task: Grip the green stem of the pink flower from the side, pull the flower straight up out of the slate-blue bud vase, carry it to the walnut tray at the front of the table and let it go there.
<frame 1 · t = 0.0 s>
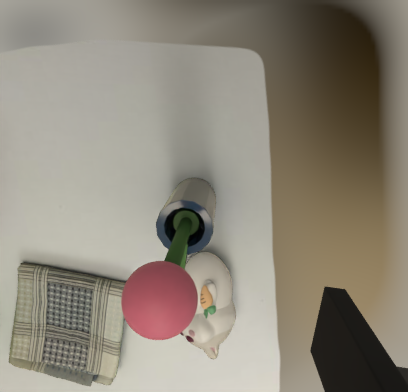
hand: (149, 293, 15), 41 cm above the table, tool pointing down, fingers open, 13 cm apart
cat figurine: (206, 291, 59), on the table
vase: (194, 198, 56), on the table
flower: (194, 199, 55), point 1 cm above the table, touching vase
dish towel: (71, 321, 62), on the table
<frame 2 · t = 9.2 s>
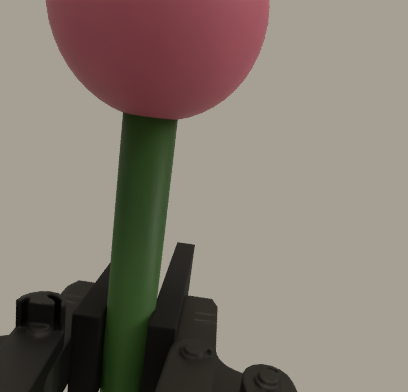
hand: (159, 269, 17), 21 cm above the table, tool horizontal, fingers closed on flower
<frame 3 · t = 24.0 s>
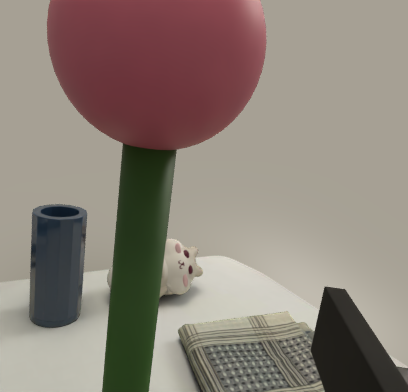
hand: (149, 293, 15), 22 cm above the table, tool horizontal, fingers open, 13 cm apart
cat figurine: (154, 294, 59), on the table
vase: (55, 313, 50), on the table
dish towel: (273, 380, 43), on the table
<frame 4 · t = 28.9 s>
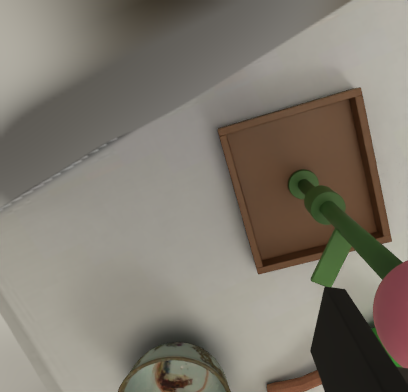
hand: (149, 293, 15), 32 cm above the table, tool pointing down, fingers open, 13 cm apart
tree: (336, 357, 50), on the table
flower: (302, 183, 45), point 1 cm above the table, touching tray
bowl: (182, 364, 52), on the table
tray: (301, 182, 45), on the table
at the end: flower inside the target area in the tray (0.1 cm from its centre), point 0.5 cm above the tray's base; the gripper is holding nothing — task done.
